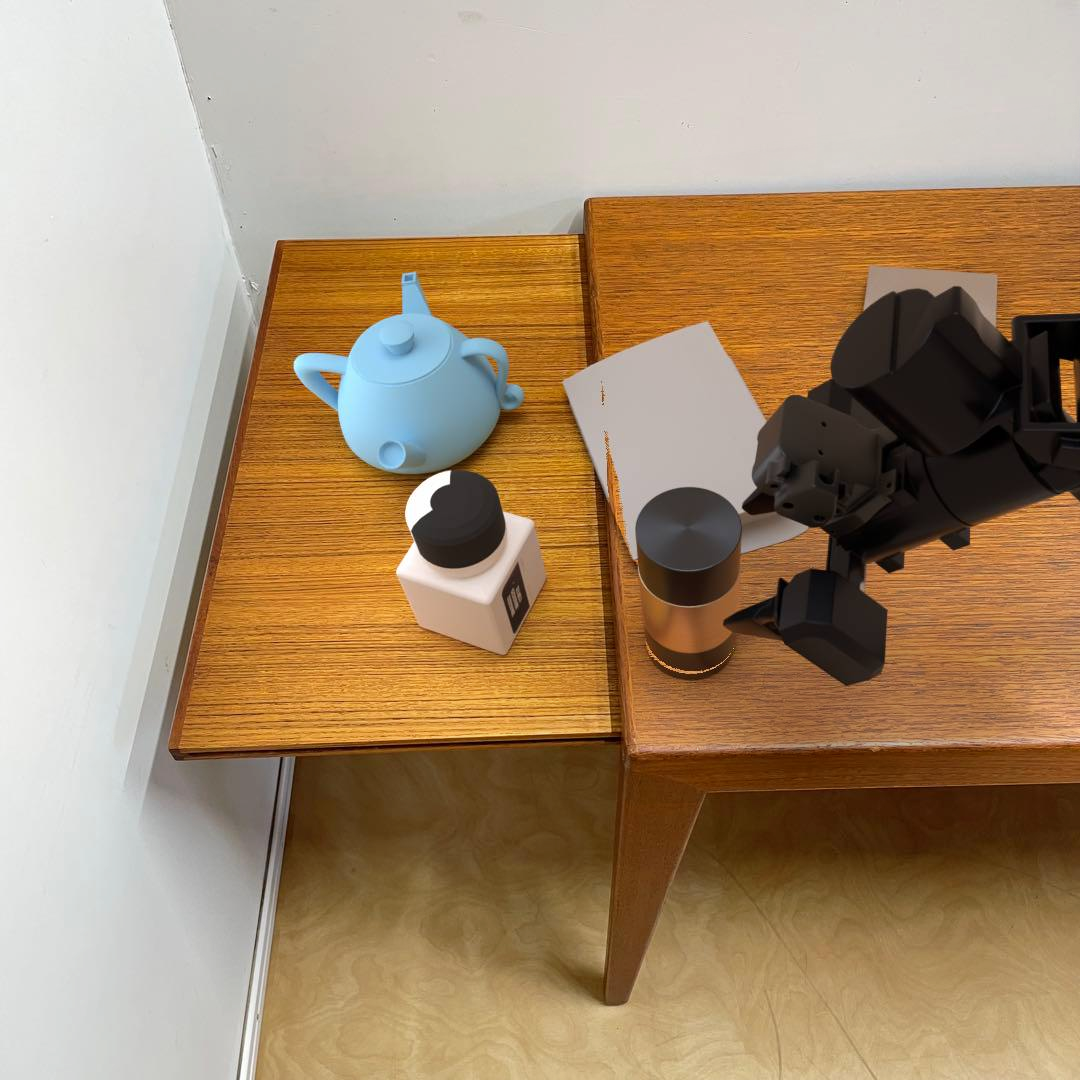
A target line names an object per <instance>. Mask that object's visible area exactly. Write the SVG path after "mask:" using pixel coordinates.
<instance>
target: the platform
mask: <svg viewBox="0 0 1080 1080" xmlns="http://www.w3.org/2000/svg"><path fill="white" fill-rule="evenodd" d="M998 279H999V278H998V274H997V273H983V272H982V273H981V272H967V271H956V270H955V271H953V270H939V269H924V268H912V267H911V268H910V267H895V266H894V267H893V266H883V265H882V266H880V265H869V266H868V272H867V279H866V280H867V281H866V287H865V295H864V300H863V307H862V308H863V309H862V312H863V311H864V310H865V309H866V308H868V307H869V306H870V305H871V304H873V303H874V302H875V301H877V300H878V299H880V298H881V297H883V296H884V295H886V294H888V293H890V292H892V291H895V292H896V293H898V292H901V291H904V290H907V289H916V288H919V289H924V290H927V291H929V292H930V293H931V294H932V295H933V296H934V297H936V296H937V295H939V294H941V293H943V292H944V291H946V290H948V289H950V288H951V287H953V286H961V287H962V288H963V289H964V290H965V291H966V292H967V293H968V294H969V295H970V296H971V297H972V298H973V299H974V301H975V302H976V303H977V305H978V307H979V309H980V311H981V313H982V314H983V315H984V317H985V318H986V319H987V320H988V321H989V322H990V323H991V324H992V325H993V326H994V327H995V328H996V329H997V313H998V312H997V311H998V310H997V309H998V307H997V305H998Z"/></svg>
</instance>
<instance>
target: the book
mask: <svg viewBox="0 0 1080 1080" xmlns="http://www.w3.org/2000/svg"><path fill="white" fill-rule="evenodd" d="M601 381H602V383H601ZM561 383H562V386H563V388H564V391H565V394H566V397H567V399H568V401H569V404H568V406H569V407H570V410H571V412H572V415H573V418H574V420H575V422H576V424H577V427H578V430H579V432H580V435H581V438H582V440H583V443H584V445H585V447H586V450H587V453H588V455H589V457H590V461H591V462H592V465H593V468H594V470H595V472H596V475H597V477H598V480H599V483H600V486H601V488H602V489H603V492H604V496H605V497H606V500H607V502H608V504H609V499H608V498H609V493H608V486H607V459H606V458H607V457H606V456H607V455H606V453H607V452H608V451H607V449H608V448H609V449H610V450H609V451H610V453H609V454H610V455H611V458H612V461H613V462H614V463H612V464H614V466H613V467H614V468H615V469H614V470H615V471H616V474H617V477H618V478H617V479H618V480H619V481H618V482H619V483H618V484H619V488H618V489H620V490H618V491H620V492H619V494H620V495H619V496H621V497H619V498H621V499H619V500H620V501H619V502H620V503H622V504H620V505H622V506H623V507H622V506H620V507H622V508H623V509H622V510H623V511H622V512H623V513H622V514H623V515H622V516H623V517H622V518H623V521H625V522H623V523H625V524H626V525H625V524H624V525H625V526H626V527H625V526H624V527H625V528H626V529H625V528H624V529H625V530H626V536H625V537H626V538H625V539H627V540H626V541H627V542H628V543H627V544H629V545H628V546H629V548H630V549H629V550H630V553H631V555H632V558H633V560H638V556H637V545H636V534H635V527H636V521H637V518H638V516H639V513H640V512H641V510H642V509H643V507H644V506H645V505H646V504H647V503H648V502H649V501H650V500H651V499H653V498H654V497H655V496H657V495H659V494H661V493H663V492H665V491H668V490H671V489H675V488H680V487H698V488H703V489H708V490H710V491H713V492H715V493H717V494H719V495H721V496H723V497H724V498H726V499H727V500H728V501H729V502H730V503H731V504H732V505H733V506H734V508H735V509H736V510H737V512H738V514H739V516H740V519H741V524H742V540H741V555H743V554H747V553H750V552H753V551H754V552H755V551H756V550H760V549H763V548H767V547H770V546H773V545H777V544H780V543H784V542H787V541H789V540H792V539H794V538H796V537H797V536H799V535H802V534H804V533H805V532H807V531H808V530H809V528H810V527H808V526H806V525H803V524H801V523H798V522H796V521H793V520H791V519H788V518H786V517H783V516H781V515H779V514H777V513H776V512H771V513H765V514H759V515H750V514H748V513H747V512H745V511H744V510H743V509H742V503H743V502H744V501H745V500H746V499H747V498H748V497H749V495H750V494H751V493H752V492H753V491H754V490H755V489H756V488H757V487H756V486H755V484H754V482H753V480H752V468H753V465H754V463H755V458H756V451H757V445H758V441H757V436H758V432H759V430H760V429H761V428H762V427H763V426H764V424H765V423H766V422H767V421H768V420H767V419H766V417H765V415H764V414H763V412H762V410H761V408H760V407H759V405H758V403H757V401H756V399H755V398H754V396H753V394H752V393H751V390H750V388H749V387H748V386H747V384H746V382H745V380H744V378H743V377H742V374H741V373H740V371H739V370H738V368H737V366H736V364H735V363H734V361H733V359H732V357H730V356H729V355H728V354H727V352H726V350H725V349H724V346H723V345H722V344H721V341H720V340H719V338H718V337H717V335H716V333H715V331H714V329H713V327H712V326H711V323H710V322H709V320H706V321H703V322H699V323H696V324H693V325H690V326H689V325H688V326H686V327H683V328H679V329H677V330H674V331H671V332H669V333H666V334H664V335H660V336H657V337H654V338H652V339H649V340H647V341H644V342H642V343H639V344H636V345H634V346H631V347H629V348H626V349H624V350H623V349H622V350H621V351H618V352H616V353H614V354H612V355H610V356H608V357H606V358H603V359H601V360H600V361H598V362H596V363H593V364H591V365H588V366H586V367H585V368H584V369H581V370H580V371H578V372H576V373H574V374H573V375H571V376H569V377H567V378H565V379H563V380H562V381H561ZM602 386H603V391H604V392H603V394H604V395H605V396H603V397H604V401H603V402H602V392H601V391H602ZM603 403H604V405H602V404H603ZM604 431H605V432H606V431H607V432H608V433H607V432H606V433H607V435H608V436H607V435H606V434H605V432H604ZM605 435H606V436H607V437H608V438H609V440H608V441H609V442H608V443H609V444H608V443H607V442H606V441H605V437H606V436H605ZM607 437H606V438H607ZM605 442H606V443H607V444H608V445H609V447H608V446H607V445H606V443H605ZM606 446H607V447H608V448H607V447H606ZM606 448H607V449H606ZM621 501H622V502H621ZM624 533H625V532H624ZM624 535H625V534H624ZM633 560H632V561H633Z"/></svg>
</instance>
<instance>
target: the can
mask: <svg viewBox="0 0 1080 1080" xmlns="http://www.w3.org/2000/svg"><path fill="white" fill-rule="evenodd" d="M635 534H636V545H637V556H638V566H637V574H638V575H637V576H638V585H639V596H640V608H641V617H642V622H643V632H644V639H645V638H646V642H647V644H648V646H649V648H650V650H651V651H652V653H653V654H654V655H655V656H656V657H657V658H658V659H659V660H660V661H662V662H664V663H665V664H666V665H668V666H671V667H672V668H675V669H676V668H677V669H680V670H684V671H701V670H702V671H704V670H706V669H710V668H712V667H715V666H716V665H718V664H720V663H721V662H723V661H724V660H725V659H726V658H727V657H728V656H729V657H728V658H727V659H726V660H725V661H724V662H723V663H722V664H720V665H719V666H717V667H716V668H714V669H712V670H709V671H706V672H703V673H697V674H685V673H679V672H676V671H673V670H670V669H668V668H666V667H664V666H663V665H661V664H660V663H659V662H658V661H657V660H654V659H655V658H654V657H649V656H652V655H648V657H649V658H650V660H651V662H652V664H654V666H656V668H658V669H659V670H660V671H661V672H663V673H665V674H666V675H668V676H670V677H673V678H676V679H679V680H685V681H698V680H704V679H706V678H710V677H711V676H715V675H716V674H718V673H720V672H721V671H722V670H724V669H725V667H726V666H727V665H728V664H729V663H730V661H731V660H732V658H733V657H734V654H735V651H736V646H737V633H733V632H731V631H730V630H728V629H727V628H725V627H724V626H723V621H724V619H726V618H727V617H729V616H731V615H732V614H734V613H736V612H738V611H739V608H740V607H739V605H740V590H741V570H742V562H741V556H742V554H741V540H742V524H741V519H740V516H739V514H738V512H737V510H736V509H735V508H734V506H733V505H732V504H731V503H730V502H729V501H728V500H727V499H726V498H724V497H723V496H721V495H719V494H717V493H715V492H713V491H710V490H708V489H703V488H698V487H680V488H675V489H671V490H668V491H665V492H663V493H661V494H659V495H657V496H655V497H654V498H653V499H651V500H650V501H649V502H648V503H647V504H646V505H645V506H644V507H643V509H642V510H641V512H640V513H639V516H638V518H637V521H636V527H635ZM735 641H736V642H735ZM734 645H735V646H734ZM733 648H734V649H733ZM647 651H649V650H647V649H646V652H647ZM730 653H731V654H730ZM650 654H651V653H650ZM729 654H730V655H729Z"/></svg>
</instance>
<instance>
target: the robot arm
mask: <svg viewBox="0 0 1080 1080" xmlns="http://www.w3.org/2000/svg"><path fill="white" fill-rule="evenodd" d="M1010 334H1011V335H1010V339H1011V340H1009V339H1007V337H1006V336H1005V335H1003V333H1002V332H1001V331H1000V330H999V329H997V327H996V328H995V327H994V326H993V325H992V324H991V323H990V322H989V321H988V320H987V319H986V318H985V317H984V315H983V314H982V313H981V311H980V309H979V307H978V305H977V303H976V302H975V301H974V299H973V298H972V297H971V296H970V295H969V294H968V293H967V292H966V291H965V290H964V289H963V288H962V287H961V286H953V287H951V288H950V289H948V290H946V291H944V292H943V293H941V294H939V295H937V296H936V297H934V296H933V295H932V294H931V293H930V292H929V291H927V290H924V289H919V288H916V289H907V290H904V291H901V292H898V293H896V292H895V291H892V292H890V293H888V294H886V295H884V296H883V297H881V298H880V299H878V300H877V301H875V302H874V303H873V304H871V305H870V306H869V307H868V308H866V309H865V310H864V311H863V310H862V312H861V313H860V314H859V315H857V317H856V318H855V319H854V320H853V321H852V322H851V323H850V325H848V327H847V328H846V330H845V331H844V333H843V334H842V335H841V337H840V338H839V341H838V342H837V345H836V346H835V348H834V350H833V354H832V357H831V360H830V365H829V366H830V367H829V368H830V370H829V371H830V377H831V378H830V379H828V380H826V381H824V382H822V383H821V384H819V385H817V386H815V387H813V388H812V389H810V390H807V397H806V396H804V395H800V394H791V395H788V396H787V397H786V398H785V399H784V400H783V402H782V403H781V404H780V405H779V406H778V408H777V409H776V410H774V412H773V414H771V416H770V417H769V418H768V419H767V420H766V421H767V422H766V423H765V424H764V426H763V427H762V428H761V429H760V430H759V432H758V436H757V441H758V445H757V451H756V458H755V463H754V465H753V468H752V480H753V482H754V484H755V486H756V487H757V488H756V489H755V490H754V491H753V492H752V493H751V494H750V495H749V497H748V498H747V499H746V500H745V501H744V502H743V503H742V509H743V510H744V511H745V512H747V513H748V514H750V515H759V514H765V513H771V512H776V513H777V514H779V515H781V516H783V517H786V518H788V519H791V520H793V521H796V522H798V523H801V524H803V525H806V526H808V527H809V528H811V529H815V528H820V529H821V530H822V531H824V532H825V533H826V534H827V535H828V543H827V552H826V563H825V569H819V568H812V567H811V568H808V569H806V570H803V571H800V572H798V573H795V574H794V576H793V577H792V578H791V579H790V581H789V582H788V581H787V580H785V579H784V578H783V577H779V578H778V580H777V585H776V586H777V588H776V594H775V595H774V596H772V597H769V598H767V599H764V600H762V601H760V602H757V603H755V604H752V605H750V606H747V607H745V608H743V609H740V610H738V612H736V613H734V614H732V615H731V616H729V617H727V618H726V619H724V621H723V626H724V627H725V628H727V629H728V630H730V631H731V632H733V633H736V634H739V635H745V636H748V637H749V636H751V637H756V638H763V639H768V640H774V641H779V642H783V644H784V645H785V646H786V647H788V648H789V649H791V651H794V652H795V653H797V655H799V656H801V657H802V658H804V659H805V660H807V662H809V663H812V665H814V666H816V667H817V668H819V669H820V670H821V671H823V672H824V673H826V674H827V675H829V676H831V677H832V678H833V679H835V681H837V682H839V683H840V684H842V685H843V686H845V687H849V686H852V685H857V684H860V683H863V682H867V681H871V680H873V679H875V678H877V677H879V676H880V675H882V673H883V670H884V666H885V664H886V650H887V649H886V648H887V647H886V646H887V632H888V631H887V628H888V613H889V612H888V609H887V608H886V607H885V606H883V605H882V604H880V603H879V602H878V601H876V600H875V599H874V598H873V597H871V596H869V595H868V594H867V593H866V582H867V581H866V579H867V566H868V565H869V564H873V563H874V564H876V565H877V566H879V567H880V568H881V569H882V570H884V571H885V572H886V573H888V574H891V573H895V572H897V571H901V570H904V569H905V553H906V552H908V551H911V550H914V549H917V548H919V547H921V546H922V547H923V546H924V545H927V544H930V543H932V542H936V541H938V540H940V541H941V542H942V543H943V544H944V545H946V546H947V547H948V548H949V549H950V550H952V551H956V550H959V549H963V548H965V547H968V546H970V545H971V528H973V527H976V526H979V525H981V524H985V523H987V522H989V521H992V520H995V519H997V518H998V519H999V518H1000V517H1003V516H1006V515H1009V514H1011V513H1014V512H1017V511H1019V510H1022V509H1025V508H1028V507H1030V506H1033V505H1036V504H1038V503H1041V502H1044V501H1046V500H1049V499H1052V498H1055V497H1057V496H1061V495H1063V494H1065V493H1069V494H1070V495H1072V496H1073V497H1074V498H1075V499H1076V500H1077V501H1078V502H1079V503H1080V312H1075V313H1074V312H1072V313H1070V312H1069V313H1046V314H1045V313H1042V314H1041V313H1040V314H1037V313H1036V314H1019V315H1018V314H1017V315H1016V316H1014V317H1013V318H1012V319H1011V322H1010ZM1060 360H1063V361H1068V362H1072V363H1073V366H1072V370H1073V371H1072V372H1073V387H1074V402H1075V403H1074V405H1075V416H1076V417H1075V418H1076V420H1075V419H1074V418H1073V417H1072V416H1071V415H1070V414H1069V413H1068V412H1067V411H1066V410H1065V409H1064V408H1063V394H1062V377H1061V374H1062V373H1061V361H1060Z"/></svg>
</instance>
